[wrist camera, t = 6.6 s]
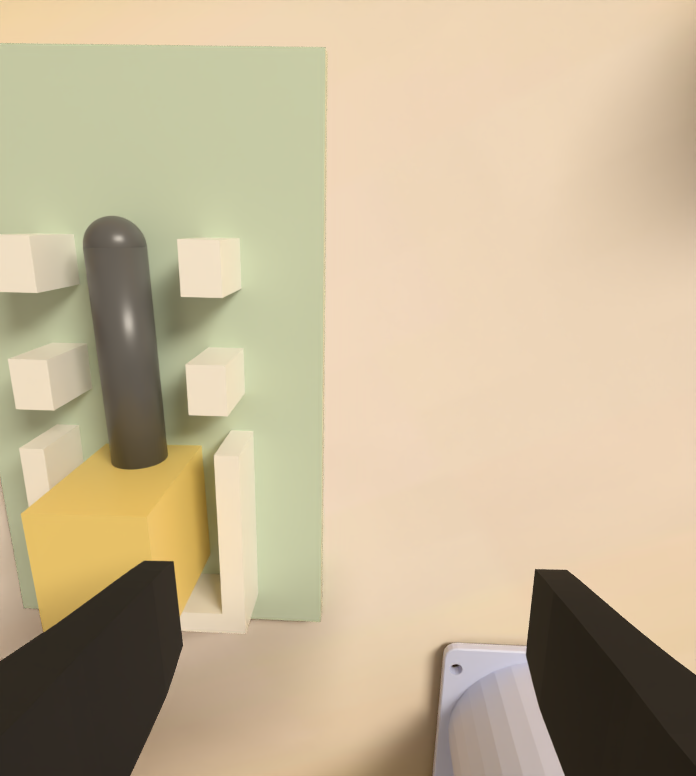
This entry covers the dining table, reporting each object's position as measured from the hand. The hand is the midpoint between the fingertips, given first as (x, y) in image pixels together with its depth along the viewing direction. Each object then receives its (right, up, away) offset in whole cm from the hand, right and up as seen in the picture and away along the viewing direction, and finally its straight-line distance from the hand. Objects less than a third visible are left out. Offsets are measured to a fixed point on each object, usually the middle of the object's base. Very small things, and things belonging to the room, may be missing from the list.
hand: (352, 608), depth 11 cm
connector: (-7, +4, +8) cm, 12 cm away
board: (-7, +5, +9) cm, 12 cm away
